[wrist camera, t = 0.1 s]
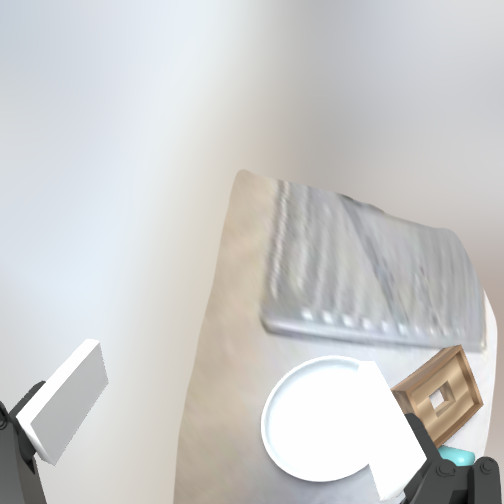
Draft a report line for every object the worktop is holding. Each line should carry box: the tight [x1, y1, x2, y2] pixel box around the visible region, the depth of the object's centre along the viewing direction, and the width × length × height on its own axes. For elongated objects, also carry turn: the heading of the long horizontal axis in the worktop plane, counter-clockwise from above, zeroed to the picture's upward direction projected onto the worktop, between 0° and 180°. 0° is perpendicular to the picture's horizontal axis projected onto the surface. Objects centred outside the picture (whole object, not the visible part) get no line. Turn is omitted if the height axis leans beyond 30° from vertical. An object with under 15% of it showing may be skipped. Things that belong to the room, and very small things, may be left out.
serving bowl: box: [261, 356, 368, 482], centre depth 41 cm, size 21×21×7 cm
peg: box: [437, 445, 475, 466], centre depth 34 cm, size 4×4×12 cm
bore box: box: [390, 345, 483, 449], centre depth 41 cm, size 15×15×6 cm
